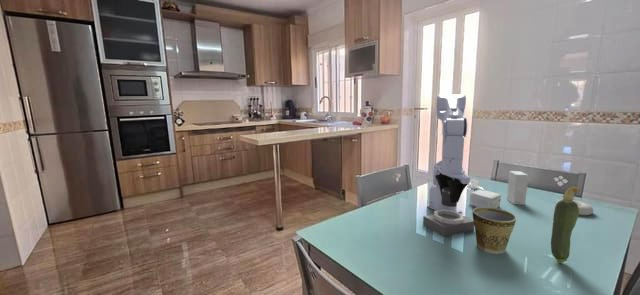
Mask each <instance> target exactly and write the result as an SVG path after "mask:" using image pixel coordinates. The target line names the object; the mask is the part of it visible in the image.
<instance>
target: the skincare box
mask: <svg viewBox="0 0 640 295" xmlns="http://www.w3.org/2000/svg"><path fill="white" fill-rule="evenodd" d="M528 181H529V174H528V173H524V172H523V171H520V170H519V171H517V170H509V174H508V183H507V184H508V185H507V194H506V200H507V201H509V202H510V203H511V204H513V205H520V206H521V205H526V200H527V192H528Z"/></svg>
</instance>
